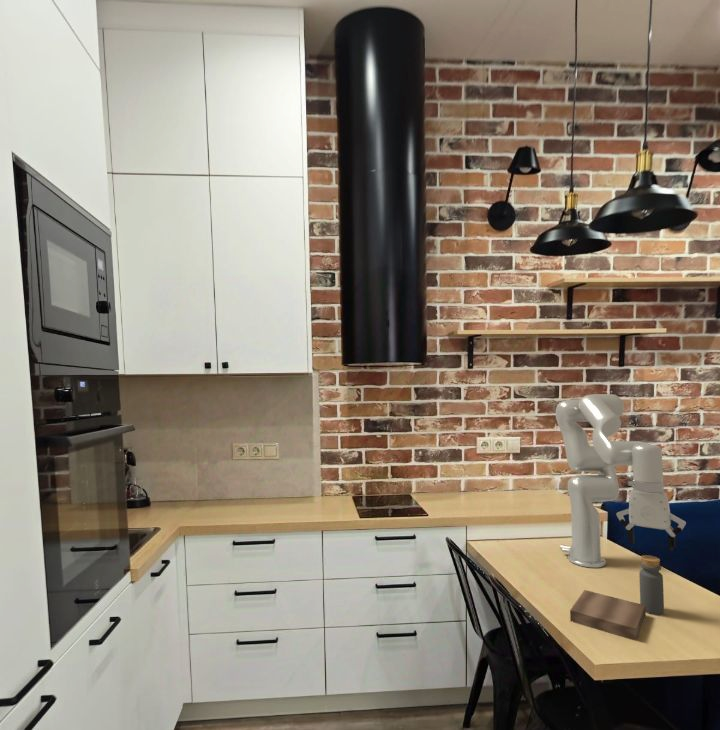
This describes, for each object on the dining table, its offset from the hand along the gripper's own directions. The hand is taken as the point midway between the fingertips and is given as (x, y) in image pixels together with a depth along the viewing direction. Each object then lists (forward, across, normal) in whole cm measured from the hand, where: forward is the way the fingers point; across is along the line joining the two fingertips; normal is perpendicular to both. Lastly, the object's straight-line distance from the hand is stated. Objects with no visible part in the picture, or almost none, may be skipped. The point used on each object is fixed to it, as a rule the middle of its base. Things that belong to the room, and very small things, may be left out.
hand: (651, 546), depth 135 cm
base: (+19, -10, -12) cm, 24 cm away
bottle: (+19, -1, +1) cm, 19 cm away
